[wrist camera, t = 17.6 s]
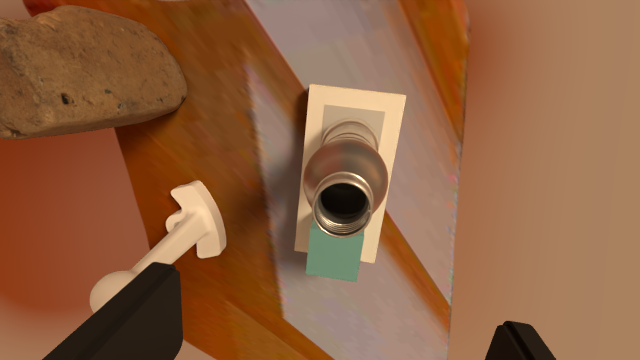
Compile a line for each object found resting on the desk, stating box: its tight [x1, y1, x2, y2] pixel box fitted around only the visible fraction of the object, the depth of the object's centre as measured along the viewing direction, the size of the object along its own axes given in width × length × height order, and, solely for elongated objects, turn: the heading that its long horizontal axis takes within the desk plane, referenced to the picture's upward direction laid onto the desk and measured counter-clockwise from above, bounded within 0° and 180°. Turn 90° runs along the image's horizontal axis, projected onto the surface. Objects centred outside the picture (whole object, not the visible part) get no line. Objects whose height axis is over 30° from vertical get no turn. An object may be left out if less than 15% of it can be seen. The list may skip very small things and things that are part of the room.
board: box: [294, 84, 406, 263], centre depth 40 cm, size 22×11×3 cm, turn 174°
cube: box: [306, 219, 364, 282], centre depth 38 cm, size 6×6×6 cm
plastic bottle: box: [303, 117, 389, 238], centre depth 27 cm, size 6×7×20 cm
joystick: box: [90, 181, 226, 313], centre depth 37 cm, size 11×8×20 cm
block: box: [0, 5, 187, 140], centre depth 31 cm, size 11×8×20 cm
